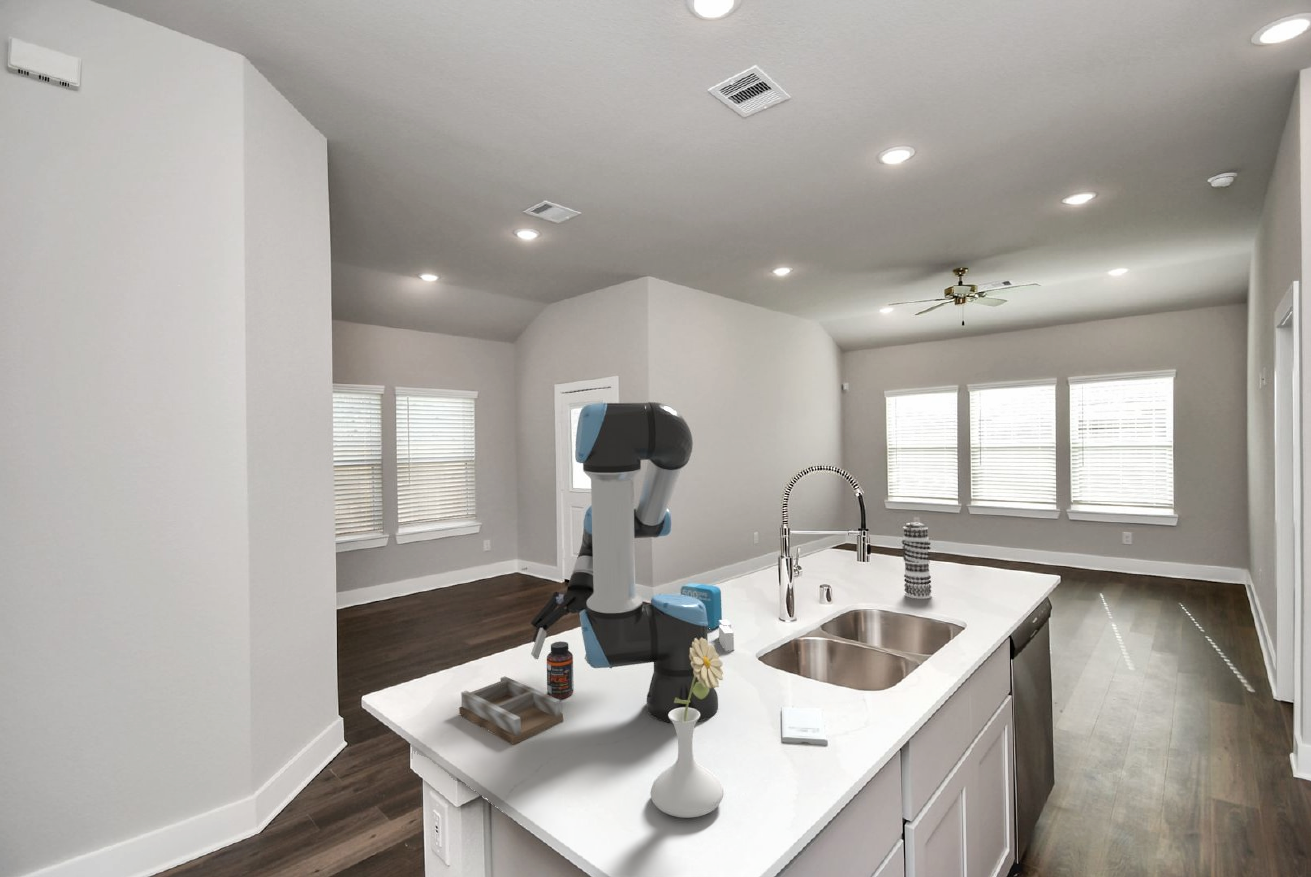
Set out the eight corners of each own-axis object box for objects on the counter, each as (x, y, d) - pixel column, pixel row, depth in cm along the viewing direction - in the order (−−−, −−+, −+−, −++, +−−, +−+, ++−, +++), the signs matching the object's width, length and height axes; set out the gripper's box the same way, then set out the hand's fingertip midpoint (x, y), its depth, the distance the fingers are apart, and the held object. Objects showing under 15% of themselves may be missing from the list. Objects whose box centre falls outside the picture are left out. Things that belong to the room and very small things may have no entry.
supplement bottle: (548, 701, 130) (547, 650, 130) (546, 690, 136) (544, 641, 136) (575, 697, 132) (574, 646, 132) (572, 686, 138) (570, 638, 138)
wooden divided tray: (563, 721, 121) (562, 699, 121) (513, 745, 112) (512, 721, 112) (508, 695, 134) (507, 675, 134) (459, 714, 125) (458, 693, 125)
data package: (681, 624, 182) (679, 585, 182) (689, 620, 186) (688, 582, 186) (714, 630, 175) (713, 590, 175) (722, 626, 178) (721, 586, 178)
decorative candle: (904, 598, 202) (902, 525, 202) (902, 591, 210) (900, 521, 210) (934, 599, 199) (931, 525, 199) (930, 592, 207) (928, 521, 208)
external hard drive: (822, 716, 120) (828, 747, 108) (781, 714, 122) (782, 745, 110) (822, 708, 120) (827, 738, 108) (781, 706, 122) (782, 736, 110)
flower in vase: (681, 837, 84) (675, 662, 84) (636, 799, 94) (631, 641, 94) (747, 801, 92) (741, 641, 92) (699, 770, 101) (694, 624, 101)
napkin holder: (736, 657, 154) (735, 635, 154) (697, 650, 160) (696, 629, 160) (757, 639, 167) (756, 619, 167) (720, 633, 173) (720, 614, 173)
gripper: (635, 588, 149) (615, 670, 135) (547, 584, 157) (519, 661, 142) (627, 572, 144) (606, 655, 130) (536, 568, 152) (506, 647, 137)
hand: (560, 659), depth 136 cm, fingers open, 13 cm apart
